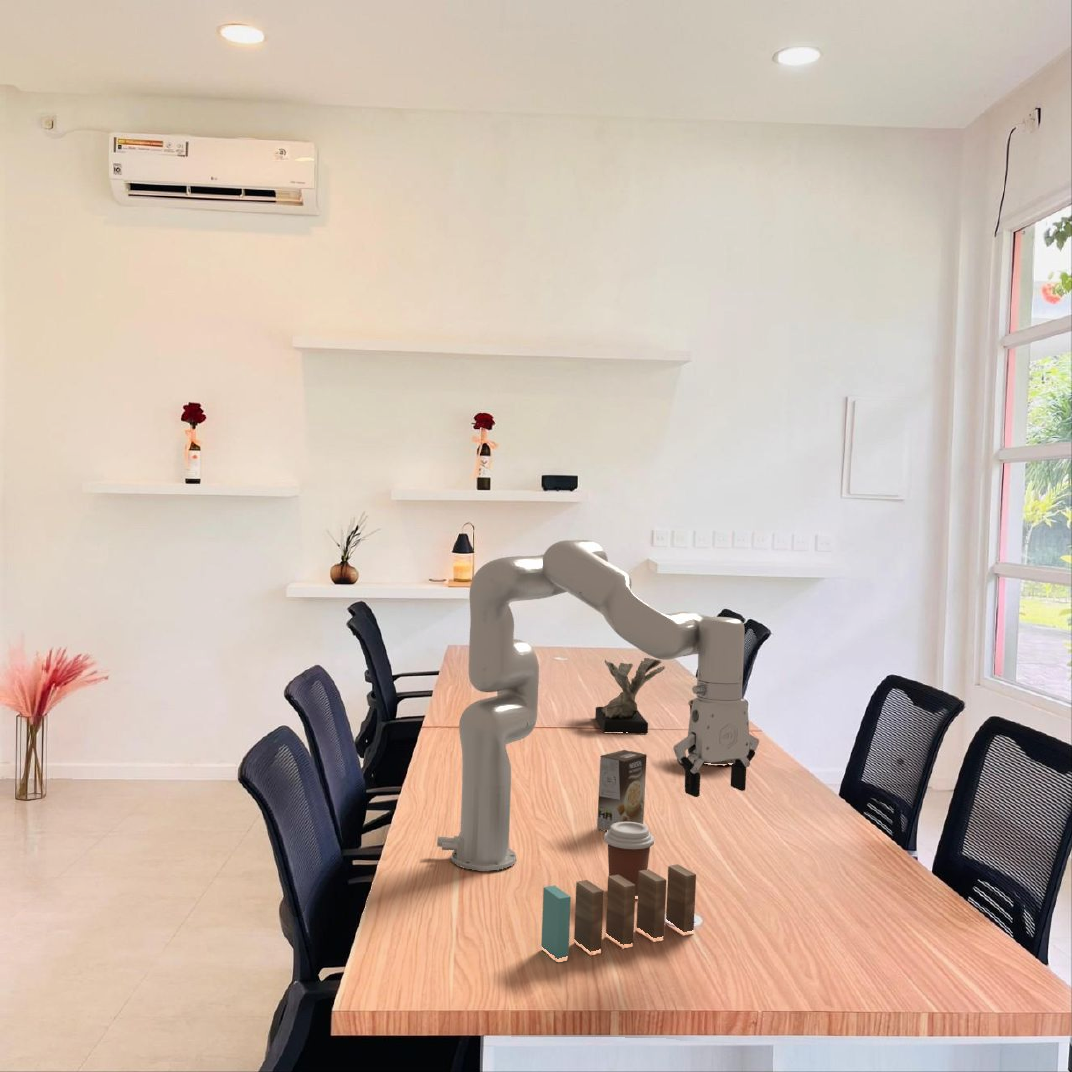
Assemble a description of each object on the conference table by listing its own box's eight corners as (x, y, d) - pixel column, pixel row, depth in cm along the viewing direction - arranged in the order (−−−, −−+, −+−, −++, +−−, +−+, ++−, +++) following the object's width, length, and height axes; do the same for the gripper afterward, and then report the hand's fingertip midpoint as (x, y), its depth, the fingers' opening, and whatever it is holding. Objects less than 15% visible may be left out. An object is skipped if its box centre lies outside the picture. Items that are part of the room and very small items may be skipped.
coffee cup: (620, 879, 192) (623, 816, 192) (661, 892, 186) (664, 827, 186) (591, 892, 185) (594, 827, 184) (633, 906, 179) (636, 839, 179)
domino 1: (590, 956, 159) (592, 892, 159) (573, 943, 163) (576, 881, 163) (601, 953, 160) (603, 890, 160) (584, 941, 164) (587, 879, 164)
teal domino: (556, 963, 156) (559, 898, 156) (541, 950, 161) (543, 887, 160) (568, 960, 157) (570, 896, 157) (552, 947, 161) (554, 885, 161)
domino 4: (683, 936, 168) (686, 876, 167) (665, 924, 172) (668, 866, 172) (693, 934, 169) (696, 874, 168) (675, 922, 173) (677, 864, 173)
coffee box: (620, 836, 217) (623, 761, 216) (596, 829, 221) (599, 755, 220) (644, 826, 224) (647, 754, 223) (620, 820, 228) (623, 748, 227)
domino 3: (653, 942, 165) (656, 881, 164) (636, 930, 169) (638, 871, 169) (663, 940, 166) (666, 879, 165) (646, 928, 170) (648, 869, 170)
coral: (594, 716, 338) (596, 651, 338) (655, 717, 339) (658, 653, 338) (601, 733, 313) (604, 663, 313) (667, 735, 314) (670, 665, 313)
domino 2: (622, 949, 162) (625, 887, 162) (605, 936, 166) (608, 876, 166) (633, 947, 163) (635, 885, 163) (615, 934, 167) (618, 874, 167)
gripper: (691, 698, 165) (687, 803, 165) (774, 692, 173) (769, 792, 173) (664, 690, 171) (660, 791, 172) (744, 684, 179) (740, 781, 180)
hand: (715, 791), depth 172 cm, fingers open, 9 cm apart
